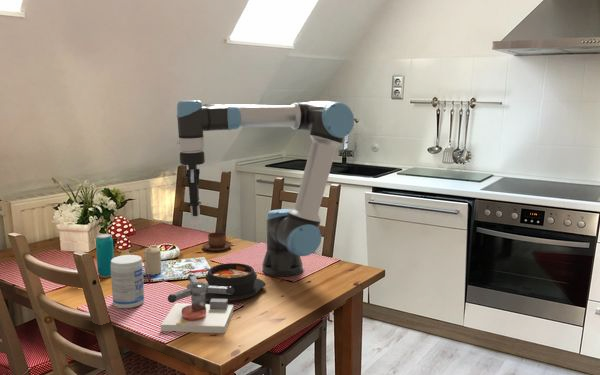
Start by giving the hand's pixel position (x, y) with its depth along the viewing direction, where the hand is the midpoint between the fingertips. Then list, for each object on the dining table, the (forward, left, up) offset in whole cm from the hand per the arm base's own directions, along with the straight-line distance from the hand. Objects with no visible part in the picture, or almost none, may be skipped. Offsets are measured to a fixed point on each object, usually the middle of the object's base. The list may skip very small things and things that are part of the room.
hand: (195, 224), depth 170 cm
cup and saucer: (+4, -54, -25) cm, 59 cm away
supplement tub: (+21, +6, -25) cm, 33 cm away
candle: (+22, -22, -25) cm, 40 cm away
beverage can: (+38, -18, -25) cm, 48 cm away
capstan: (-3, +19, -22) cm, 29 cm away
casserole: (-10, -4, -25) cm, 27 cm away
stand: (-4, +17, -25) cm, 30 cm away
